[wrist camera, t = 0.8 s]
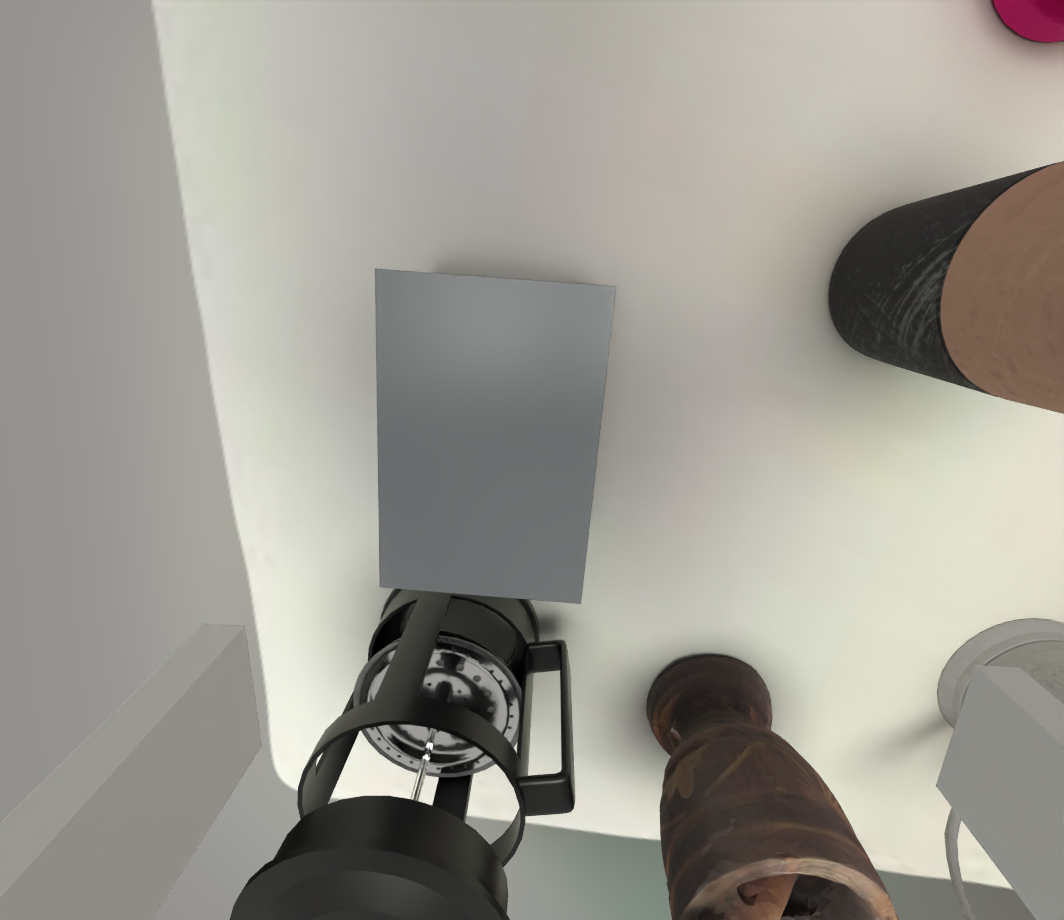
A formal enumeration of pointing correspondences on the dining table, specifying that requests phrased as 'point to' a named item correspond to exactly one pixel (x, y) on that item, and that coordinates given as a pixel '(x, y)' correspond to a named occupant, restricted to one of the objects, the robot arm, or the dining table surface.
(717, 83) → the dining table surface
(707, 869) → the mortar and pestle
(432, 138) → the dining table surface
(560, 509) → the grey rectangular block
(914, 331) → the travel mug
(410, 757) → the french press
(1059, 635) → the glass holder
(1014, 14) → the pepper mill
